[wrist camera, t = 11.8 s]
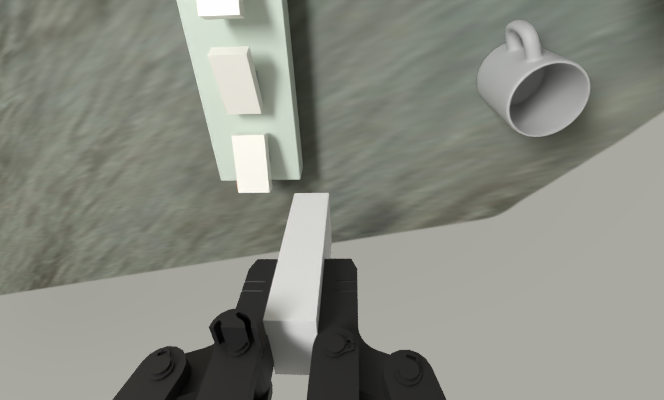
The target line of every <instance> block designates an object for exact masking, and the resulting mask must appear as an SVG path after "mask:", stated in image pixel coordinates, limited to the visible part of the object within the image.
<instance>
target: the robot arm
mask: <svg viewBox="0 0 664 400" xmlns="http://www.w3.org/2000/svg"><path fill="white" fill-rule="evenodd" d="M330 255H331V222H330V204H329V193H295V194H294V198H293V202H292V206H291V210H290V214H289V218H288V222H287V226H286V230H285V234H284V238H283V242H282V246H281V250H280V254H279V258H278V259H258V260H257V261H256V262H255V263H254V264H253V265H252V266H251V268H250V269H249V271H248V274H247V277H246V280H245V283H244V286H243V289H242V292H241V295H240V298H239V301H238V304H237V307H236V309H231V310H227V311H226V312H223V313H221V314H220V315H219V316H217V317H216V318H215V319H214V320H213V322H212V323H211V325H210V326H209V329H210V331H211V334H212V337H213V339H214V342H215V343H214V344H213V345H211V346H208V347H206V348H203V349H199V350H196V351H192V352H189V353H185V354H184V352H183V350H181V349H180V348H178V347H171V346H167V347H164V348H160V349H158V350H156V351H155V352H153V353H151V354H150V355H149V356H148V357H146V358H145V360H143V361H142V363H141V364H140V365H139V366H138V368H137V369H136V370H135V372H134V373H133V374H132V375H131V377H130V378H129V379H128V381H127V382H126V383H125V384H124V386H123V387H122V388H121V390H120V391H119V392H118V393H117V395H116V396H115V397H114V399H113V400H271V397H272V382H271V377H272V372H273V367H274V369H275V374H294V375H295V374H297V375H309V384H308V393H307V400H446V398H445V396H444V394H443V391H442V389H441V387H440V385H439V382H438V380H437V378H436V376H435V374H434V371H433V369H432V367H431V366H430V364H429V363H428V362H427V360H426V359H425V358H424V357H423V356H421V355H420V354H419V353H416V352H414V351H411V350H399V351H396V352H394V353H392V354H391V355H389V354H386V353H383V352H380V351H377V350H375V349H373V348H371V347H370V346H368V345H367V344H366V343H365V342H364V341H363V339H362V338H361V336H360V334H359V330H358V299H357V268H356V266H355V265H354V263H353V261H352V259H330Z"/></svg>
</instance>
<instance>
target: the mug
mask: <svg viewBox="0 0 664 400" xmlns="http://www.w3.org/2000/svg"><path fill="white" fill-rule="evenodd" d="M520 37H521V39H522V41H521V40H520ZM505 39H506V43H505V44H503V45H501V46H499V47H497V48H496V49H494V50H493V51H492V52H491V53H490V54H489V55H488V56H487V57H486V58H485V60H484V61H483V63H482V65H481V66H480V69H479V72H478V75H477V87H478V91H479V94H480V96H481V97H482V98H483V100H484V101H485V102H486V103H487V104H489V105H490V106H491V107H492V108H493V109H494V110H495V111H496V112H497V113H498V114H499V115H500V116H501V117H502V118H503V119H504V120H505V121H506V122H507V123H508V124H509V125H510V126H511V127H512V128H513V129H514V130H515V131H517V132H518V133H520V134H522V135H525V136H530V137H543V136H548V135H551V134H554V133H556V132H558V131H560V130H562V129H564V128H565V127H567V126H568V125H569V124H571V123H572V122H573V121H574V120H575V119H576V118H577V117H578V116H579V115H580V113H581V112H582V111H583V109H584V107H585V106H586V103H587V101H588V98H589V95H590V80H589V77H588V75H587V73H586V71H585V70H584V69H583V68H582V67H581V66H580V65H579V64H577V63H575V62H573V61H571V60H569V59H567V58H564V57H562V56H560V55H557V54H555V53H553V52H551V51H548V50H546V49H544V48H542V47H541V45H540V39H539V36H538V33H537V31H536V29H535V28H534V27H533V26H532V25H531V24H530V23H529V22H527V21H524V20H515V21H512V22H510V23H509V24H508V25H507V26H506V29H505Z"/></svg>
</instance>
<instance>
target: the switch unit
mask: <svg viewBox="0 0 664 400" xmlns="http://www.w3.org/2000/svg"><path fill="white" fill-rule="evenodd" d="M243 3H244V14H245V18H240V19H214V20H205V19H203V18H201V17H199V16H198V10H197V2H196V0H177V4H178V9H179V13H180V17H181V21H182V25H183V29H184V33H185V37H186V41H187V45H188V49H189V53H190V57H191V61H192V65H193V69H194V73H195V77H196V81H197V85H198V89H199V93H200V97H201V101H202V105H203V109H204V113H205V117H206V121H207V125H208V129H209V133H210V137H211V141H212V145H213V149H214V153H215V157H216V161H217V165H218V169H219V173H220V177H221V180H237V177H236V169H235V161H234V153H233V145H232V135H234V134H236V133H267V136H268V147H269V158H270V170H271V180H300V178H301V174H302V170H303V160H302V149H301V139H300V128H299V118H298V108H297V97H296V87H295V76H294V66H293V55H292V45H291V34H290V24H289V13H288V3H287V0H243ZM238 46H249V47H250V51H251V55H252V60H253V64H254V68H255V72H256V76H257V80H258V85H259V89H260V93H261V97H262V101H263V109H262V113H261V114H233V115H228V114H227V112H226V109H225V106H224V103H223V100H222V97H221V94H220V91H219V88H218V85H217V82H216V79H215V76H214V74H213V71H212V68H211V65H210V62H209V59H208V56H207V55H208V53H209V51H210V49H211V47H238Z"/></svg>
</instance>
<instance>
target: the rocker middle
mask: <svg viewBox="0 0 664 400" xmlns="http://www.w3.org/2000/svg"><path fill="white" fill-rule="evenodd" d="M207 56H208V59H209V62H210V65H211V68H212V71H213V74H214V76H215V79H216V82H217V85H218V88H219V91H220V94H221V97H222V100H223V103H224V106H225V109H226V112H227V114H228V115H233V114H261V113H262V109H263V101H262V97H261V93H260V89H259V85H258V80H257V76H256V72H255V68H254V64H253V60H252V55H251V51H250V47H249V46H238V47H211V49H210V51H209V53H208V55H207Z"/></svg>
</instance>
